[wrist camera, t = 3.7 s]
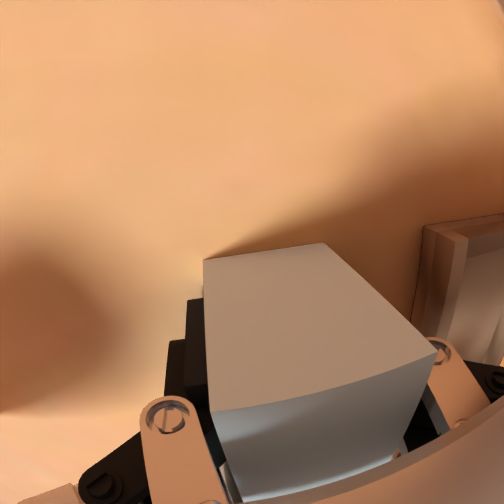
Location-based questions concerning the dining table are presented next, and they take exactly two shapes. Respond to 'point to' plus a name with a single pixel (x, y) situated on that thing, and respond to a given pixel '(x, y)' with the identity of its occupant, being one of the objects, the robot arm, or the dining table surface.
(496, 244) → the tray
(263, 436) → the white rectangular block
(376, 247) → the dining table surface
